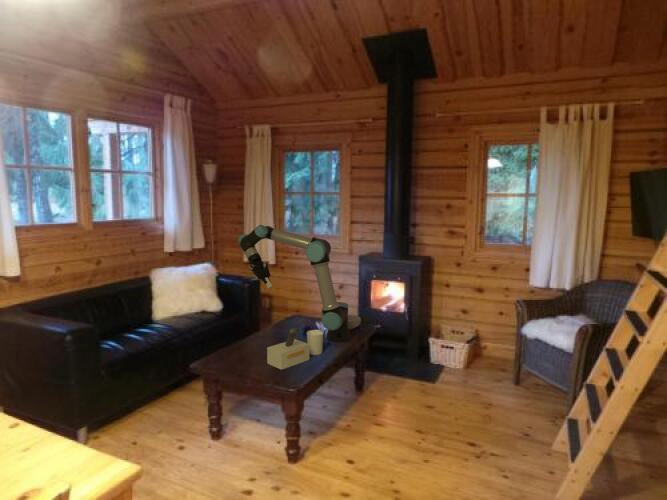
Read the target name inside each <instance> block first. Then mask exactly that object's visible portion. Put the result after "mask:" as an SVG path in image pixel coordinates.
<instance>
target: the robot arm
mask: <svg viewBox="0 0 667 500" xmlns="http://www.w3.org/2000/svg"><path fill="white" fill-rule="evenodd" d="M264 239H266V240H271V241H275V242H277V243H278V242H279V243H282V244H286V245H289V246H293V247H296V248H298V249H299V248H300V249H303V250H305V256H306V258H307V260H308V261H309V262H310V266H311V267H313V270H314V273H315V277H316V281H317V285H318V289H319V294H320V297H321V302H322V303H321V304H322V307H321V313H322V318H321V323H322V326H323V327H324V328H325V329H326V330H327V333H326V339H327V340H328V341H331V342H335V343H338V342H339V343H340V342H341V343H342V342H347V341H349V340H350V339H351V333H350V330H349V329H348V315H349V305H348V303H346V302H343V301H341V302H340V301H337V297H336V292H335V289H334V284H333V279H332V275H331V271H330V266H329V263H330V262H331V259H330V253H331V251H332V247H331V244H330V242H328V241H327V239H323V238H319V237H308V236H305V235H301V234H296V233H293V232H290V231H285V230H281V229H277V228H273V227H272V226H269V225H263V224H258V225H257V226H256V227H254V229H252V230H251V232H249V233H244V234H242V235H240V236H239V237H238V238H237V241H238V244H239V246H240V247H241V249H242V251H243V253H244V255H245V257H246V259H247V261H248V262H249V264H250V266H249V268H248V269H249V270H250V271H252V273H253V274H254V276H255V277H256V278H257V279H258V280H260V282H261V281H262V282H263V283H264V285H265V286H266V288H267V289H268V290H271V289H272V287H273V285H272V283H271V282H272V281H271V280H270V277H271V272H270V269H269V264H268V262H266V263H264V261H262V257H261V255H260V254H259V252H258V250H257V248H256V245H257V244H258V243H259V242H260V241H262V240H264Z"/></svg>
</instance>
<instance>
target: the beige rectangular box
mask: <svg viewBox="0 0 667 500" xmlns="http://www.w3.org/2000/svg"><path fill="white" fill-rule="evenodd" d="M285 344H286V341H284V342H281V343H277V344H275V345H271V346H268V347H266V350H267V351H266V353H267V354H266V356H267V357H266V363H267V364H268V365H270V366H272V367H275V368H277V369H279V370H284V369H288V368H290V367H293V366H296V365H298V364H302V363H304V362H306V361H309V360H310V354H309V344H307V342H304V341H302V340H298V339H296V338H295V339H294V342H293V345H291V346H288V347H287V346H286V345H285Z"/></svg>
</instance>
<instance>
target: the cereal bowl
mask: <svg viewBox="0 0 667 500" xmlns="http://www.w3.org/2000/svg"><path fill="white" fill-rule="evenodd" d="M361 319H362V318H361V317H360V316H358V315H354V314H348V329H349V331H350V330H354V329H355V328H357V327H358V326H360V325H361V322H362V320H361Z"/></svg>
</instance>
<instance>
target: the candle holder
mask: <svg viewBox="0 0 667 500" xmlns="http://www.w3.org/2000/svg"><path fill="white" fill-rule="evenodd" d="M306 341H307V342H306V343H307V344H309V355H312V356H318V355H321V354H322V353H323V347H324V346H323V345H324V331H323V330H320V329H311V330H307V331H306Z"/></svg>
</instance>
